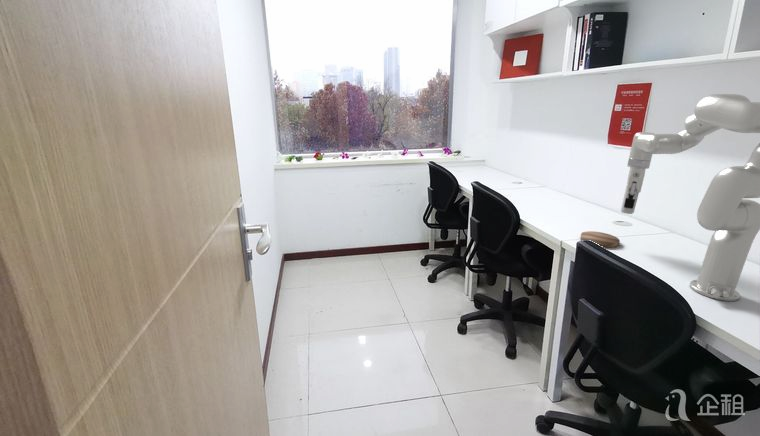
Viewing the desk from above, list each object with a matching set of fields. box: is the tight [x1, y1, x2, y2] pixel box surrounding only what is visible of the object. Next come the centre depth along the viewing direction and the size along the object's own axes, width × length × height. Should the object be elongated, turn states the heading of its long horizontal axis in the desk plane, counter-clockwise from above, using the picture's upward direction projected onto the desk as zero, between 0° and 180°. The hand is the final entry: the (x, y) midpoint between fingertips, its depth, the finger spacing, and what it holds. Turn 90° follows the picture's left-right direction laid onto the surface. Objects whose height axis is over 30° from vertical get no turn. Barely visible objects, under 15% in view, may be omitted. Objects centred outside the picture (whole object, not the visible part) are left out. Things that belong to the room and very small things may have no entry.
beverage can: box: [620, 185, 640, 215], centre depth 156 cm, size 5×5×12 cm
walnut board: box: [579, 230, 621, 249], centre depth 165 cm, size 15×15×2 cm
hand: (628, 205), depth 157 cm, fingers closed on beverage can, 4 cm apart
